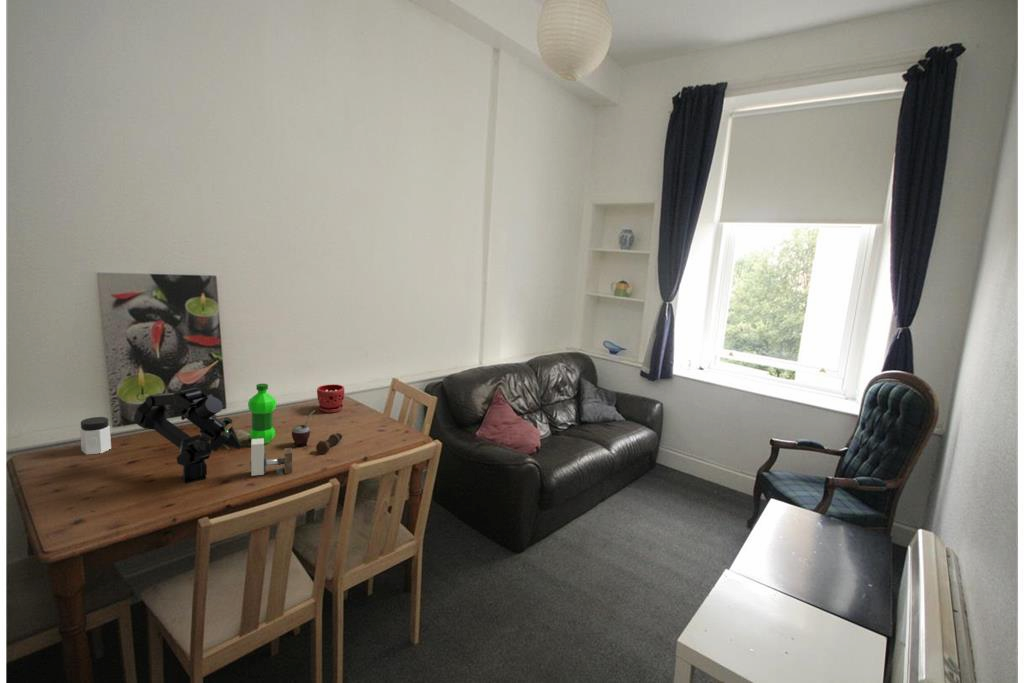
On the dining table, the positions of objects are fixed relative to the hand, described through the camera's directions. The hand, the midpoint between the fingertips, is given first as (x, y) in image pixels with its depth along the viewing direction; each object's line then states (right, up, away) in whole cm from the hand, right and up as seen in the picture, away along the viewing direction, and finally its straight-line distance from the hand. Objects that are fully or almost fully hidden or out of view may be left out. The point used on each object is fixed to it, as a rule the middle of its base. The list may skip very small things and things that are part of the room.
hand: (240, 447), depth 184 cm
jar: (-61, -4, +11) cm, 62 cm away
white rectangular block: (+4, -10, +4) cm, 12 cm away
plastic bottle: (-8, -4, +32) cm, 33 cm away
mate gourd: (+9, -6, +33) cm, 34 cm away
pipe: (+7, -8, +5) cm, 12 cm away
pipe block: (+12, -10, +8) cm, 18 cm away
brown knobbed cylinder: (+21, -7, +33) cm, 40 cm away
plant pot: (+5, +3, +77) cm, 77 cm away
